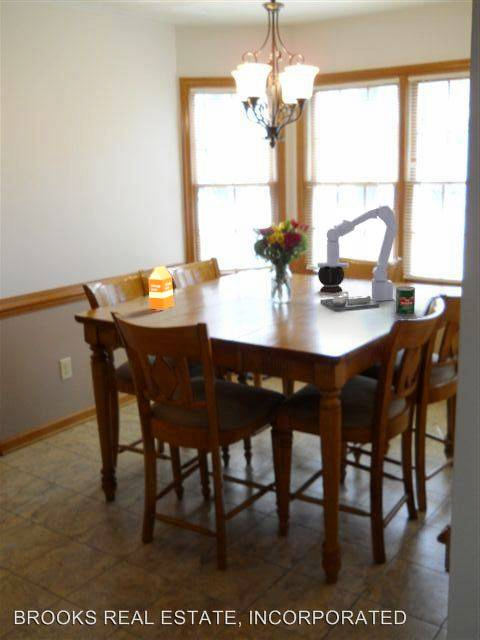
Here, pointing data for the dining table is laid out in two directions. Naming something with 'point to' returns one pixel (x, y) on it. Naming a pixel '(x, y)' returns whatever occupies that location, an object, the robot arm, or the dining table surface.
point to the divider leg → (346, 295)
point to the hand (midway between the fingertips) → (333, 282)
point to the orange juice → (160, 288)
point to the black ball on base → (331, 286)
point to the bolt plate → (352, 306)
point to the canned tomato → (405, 300)
